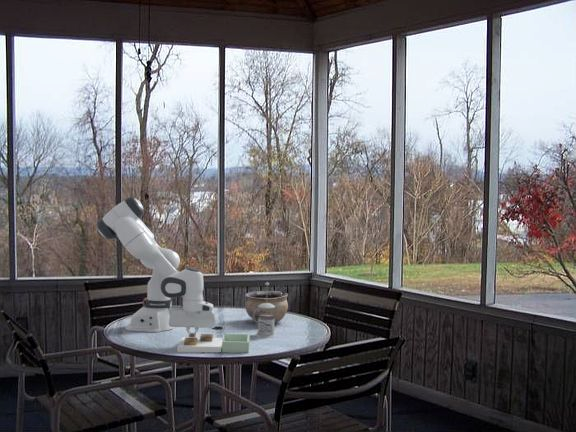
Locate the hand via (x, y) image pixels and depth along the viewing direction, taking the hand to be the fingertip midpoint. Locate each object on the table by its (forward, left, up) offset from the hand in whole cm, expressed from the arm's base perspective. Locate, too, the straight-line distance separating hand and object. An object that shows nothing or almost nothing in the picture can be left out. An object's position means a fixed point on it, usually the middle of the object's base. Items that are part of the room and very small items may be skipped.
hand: (192, 337), depth 279 cm
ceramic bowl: (+32, +50, -4) cm, 59 cm away
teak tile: (0, -7, -1) cm, 7 cm away
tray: (+19, -3, -4) cm, 20 cm away
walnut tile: (+6, 0, -1) cm, 6 cm away
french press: (+31, +22, -4) cm, 38 cm away
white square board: (+4, -3, -4) cm, 6 cm away
